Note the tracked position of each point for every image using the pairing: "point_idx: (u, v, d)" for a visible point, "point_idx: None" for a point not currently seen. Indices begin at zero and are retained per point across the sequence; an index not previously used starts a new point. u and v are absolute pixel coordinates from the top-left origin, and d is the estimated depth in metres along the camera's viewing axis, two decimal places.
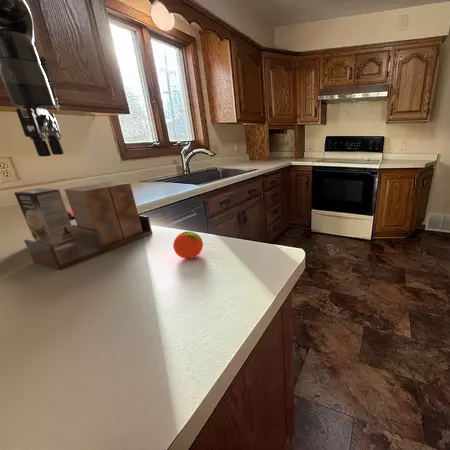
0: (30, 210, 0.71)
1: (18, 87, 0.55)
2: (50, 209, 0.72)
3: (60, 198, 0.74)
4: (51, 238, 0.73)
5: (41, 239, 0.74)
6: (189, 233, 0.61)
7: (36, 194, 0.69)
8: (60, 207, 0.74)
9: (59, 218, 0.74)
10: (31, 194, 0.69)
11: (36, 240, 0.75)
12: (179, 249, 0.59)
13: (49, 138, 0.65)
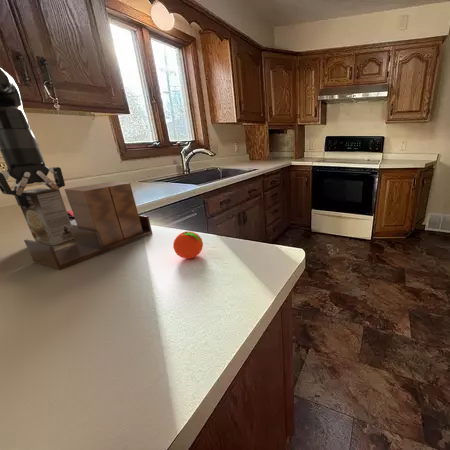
0: (30, 210, 0.71)
1: (1, 152, 0.65)
2: (50, 209, 0.72)
3: (60, 198, 0.74)
4: (51, 238, 0.73)
5: (41, 239, 0.74)
6: (189, 233, 0.61)
7: (36, 194, 0.69)
8: (60, 207, 0.74)
9: (59, 218, 0.74)
10: (31, 194, 0.69)
11: (36, 240, 0.75)
12: (179, 249, 0.59)
13: (50, 188, 0.75)
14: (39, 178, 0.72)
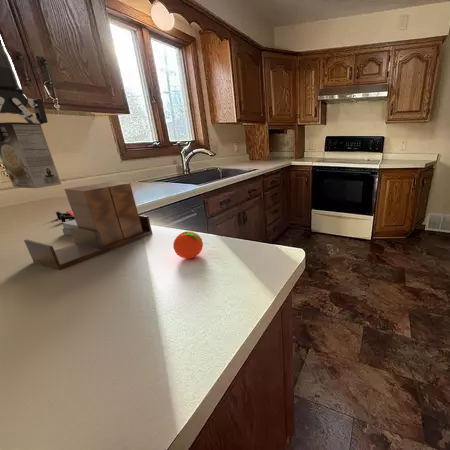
0: (5, 144, 0.61)
1: None
2: (30, 145, 0.62)
3: (42, 134, 0.64)
4: (31, 179, 0.63)
5: (19, 181, 0.64)
6: (189, 233, 0.61)
7: (12, 123, 0.58)
8: (42, 144, 0.64)
9: (41, 157, 0.64)
10: (6, 123, 0.58)
11: (14, 184, 0.65)
12: (179, 249, 0.59)
13: None
14: (16, 108, 0.61)
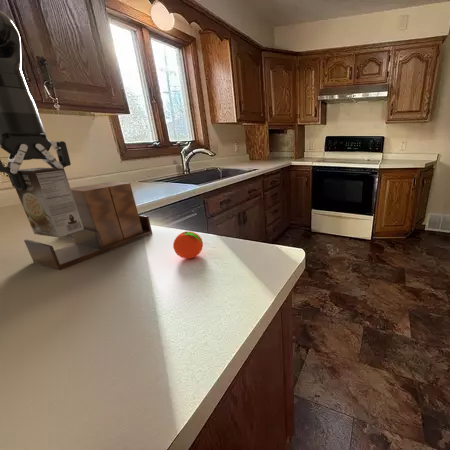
0: (28, 193, 0.57)
1: None
2: (53, 192, 0.58)
3: (65, 179, 0.60)
4: (53, 228, 0.59)
5: (41, 229, 0.60)
6: (189, 233, 0.61)
7: (36, 172, 0.54)
8: (65, 190, 0.60)
9: (64, 204, 0.60)
10: (29, 172, 0.54)
11: (35, 231, 0.61)
12: (179, 249, 0.59)
13: (53, 167, 0.61)
14: (39, 153, 0.57)
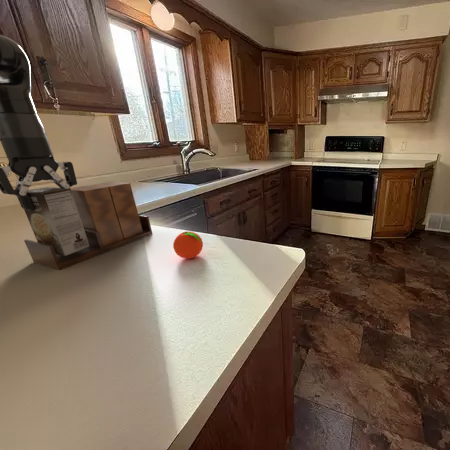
0: (36, 213, 0.58)
1: (1, 142, 0.53)
2: (61, 213, 0.59)
3: (72, 199, 0.62)
4: (60, 247, 0.60)
5: None
6: (189, 233, 0.61)
7: (44, 194, 0.56)
8: (72, 210, 0.62)
9: (71, 223, 0.62)
10: (38, 194, 0.56)
11: None
12: (179, 249, 0.59)
13: (60, 187, 0.63)
14: (47, 175, 0.59)
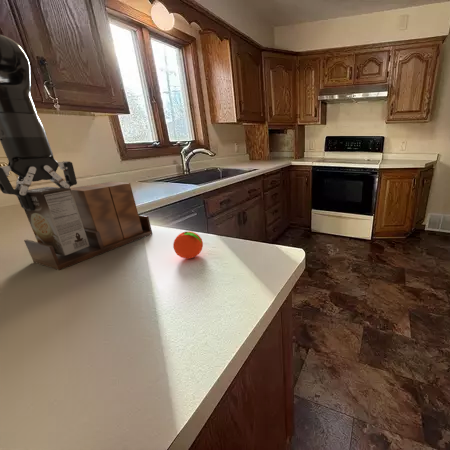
0: (36, 213, 0.58)
1: (1, 142, 0.53)
2: (61, 212, 0.59)
3: (72, 199, 0.62)
4: (61, 247, 0.60)
5: None
6: (189, 233, 0.61)
7: (44, 194, 0.56)
8: (72, 209, 0.62)
9: (71, 222, 0.62)
10: (38, 194, 0.56)
11: None
12: (179, 249, 0.59)
13: (60, 186, 0.63)
14: (47, 174, 0.59)
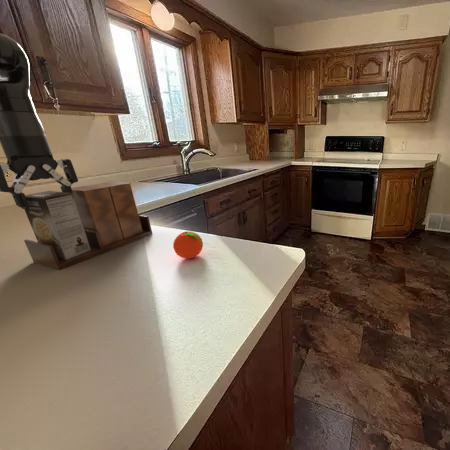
0: (37, 218, 0.59)
1: (0, 140, 0.53)
2: (62, 217, 0.60)
3: (73, 203, 0.62)
4: (62, 251, 0.61)
5: None
6: (189, 233, 0.61)
7: (45, 199, 0.56)
8: (73, 214, 0.62)
9: (72, 227, 0.62)
10: (39, 199, 0.56)
11: None
12: (179, 249, 0.59)
13: (61, 184, 0.63)
14: (47, 173, 0.59)
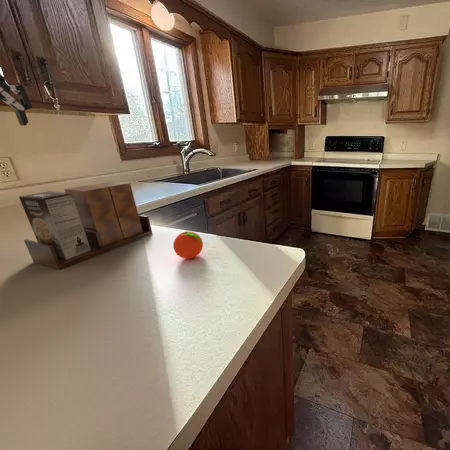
0: (37, 218, 0.59)
1: None
2: (62, 217, 0.60)
3: (73, 203, 0.62)
4: (62, 251, 0.61)
5: None
6: (189, 233, 0.61)
7: (45, 199, 0.56)
8: (73, 214, 0.62)
9: (72, 227, 0.62)
10: (39, 199, 0.56)
11: None
12: (179, 249, 0.59)
13: (15, 109, 0.68)
14: None
